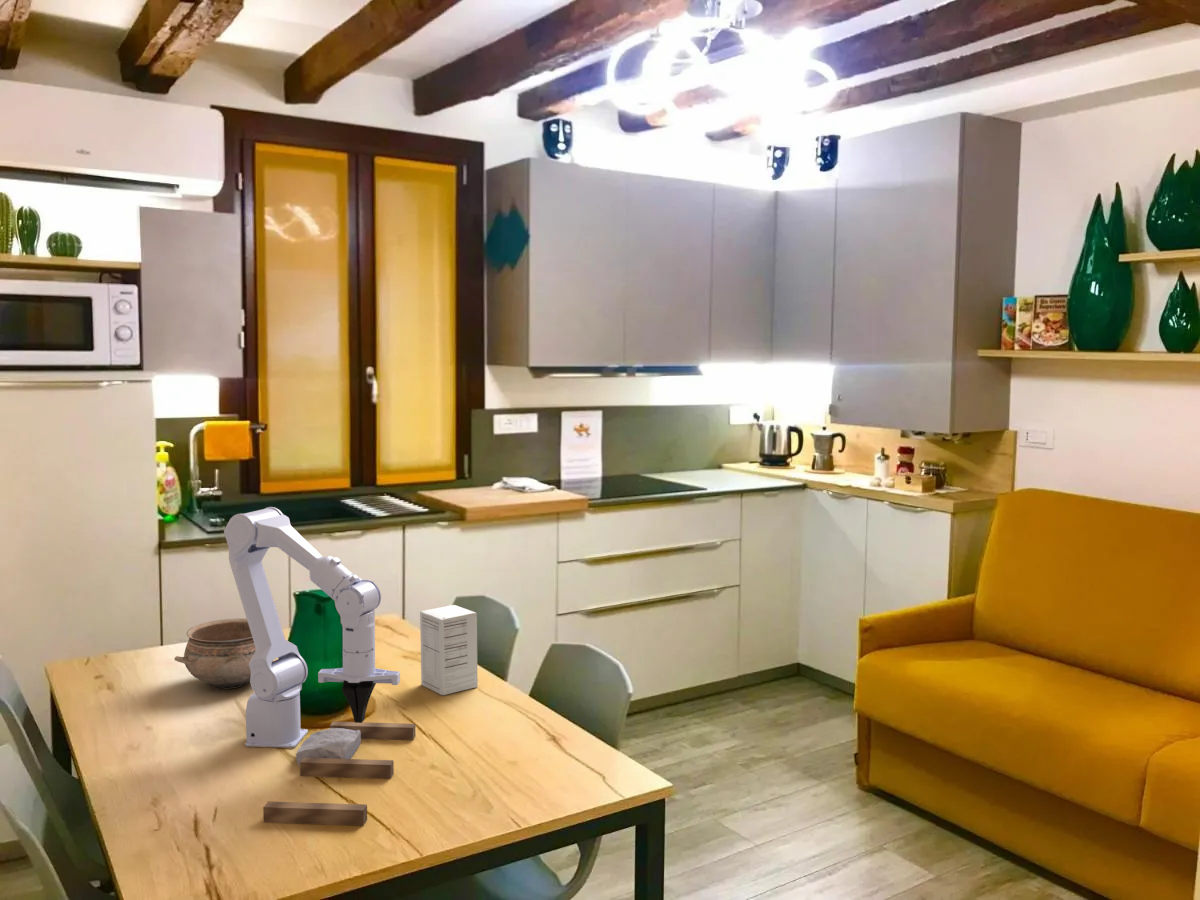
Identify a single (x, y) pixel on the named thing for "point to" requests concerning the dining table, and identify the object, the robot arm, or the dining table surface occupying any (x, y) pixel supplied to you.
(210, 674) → the cooking pot
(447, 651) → the supplement box
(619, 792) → the dining table surface
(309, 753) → the stone block
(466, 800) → the dining table surface
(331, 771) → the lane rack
